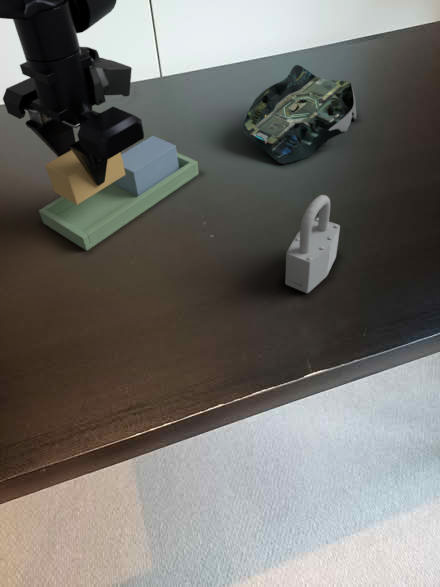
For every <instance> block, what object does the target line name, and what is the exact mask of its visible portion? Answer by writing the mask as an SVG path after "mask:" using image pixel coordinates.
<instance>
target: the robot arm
mask: <svg viewBox="0 0 440 587" xmlns="http://www.w3.org/2000/svg"><path fill="white" fill-rule="evenodd" d="M116 4H117V0H0V19H4V20H13V24H14V27H15V30H16V33H17V37H18V39H19V43H20V45H21V46H20V47H21V48H22V52H23V54H24V58H25V62H23V63H21V64H19V67H20V70H21V71H20V72H21V73H22V75H24V76H26V77H28V78H27V79H24V80H22V81H19V82H18V83H15V84H13V85H10V86H9V87H7V88H5V91H4V93H3V96H2V101H3V103H4V104H3V105H4V106H5V109H6V111H7V114H8V115H11V116H13V117H15V118H17V119H19V120H21V119H24V118H25V116H26V111H27V112H28V116H29V119H28V120H26V121H25V126H26V127H27V128H28V129H30V130H31V131H32V132H33V133H34V134H35V135H36V136H37V137H38V138H39V139H40V140H41V141H42V142H43V143H44V144H45V145H46V146H47V147H48V148H49V150H50V151H52V152H53V153H54V154H55V155H56V157H57V158H58V157H60V156H62V155H64V154H65V153H67V152H69V151H71V150H72V151H73V153H74V154H75V156H76V157H77V158H78V160H79V161H80V163H81V164H82V166H83V167H84V169H85V170H86V171H87V173H88V174H89V176H90V177H91V179H92V180H93V181H94V183H95V184H96V185H98V186H99V185H101V184H103V183H104V182H105V176H106V169H107V161H108V159H110V158H111V157H113V156H115V155H117V154H118V153H120V152H121V153H122V152H123V151H125V150H126V149H128V148H130V147H132V146H134V145H135V144H137V143H138V142H141V141H142V140H143V139H145V132H144V127H143V122H142V119H141V118H140V117H138V116H137V115H135V114H132V113H130V112H128V111H125V110H123V109H120V108H118V107H116V106H111V107H110V108H107V109H106V110H104V111H101V112H98V111H96V110H93V106H96V107H97V106H100V105H103V104H104V103H106V101H107V100H106V96H122V97H130V95H131V81H132V71H133V70H132V69H133V68H132V67H131V66H129V65H126V64H123V63H122V62H121V63H120V62H118V61H116V60H112V59H107V58H104V57H100V55H99V51H98V50H97V49H95V48H92V47H89V46H80V42H79V37H78V34H81V33H84V32H86V31H87V30H89V29H90V28H92V26H94V25H95V24H97V23H98V22H99V21H101V19H103V18H105V17H106V16H107V15H109V14H110V13H111V12H112V11H113V10H114V9H115V7H116ZM77 128H79V129H78V132H77V138H78V140H77V141H76V137H75V132H74V129H77Z"/></svg>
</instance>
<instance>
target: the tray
mask: <svg viewBox="0 0 440 587" xmlns="http://www.w3.org/2000/svg"><path fill="white" fill-rule="evenodd" d="M177 158H178V165H179V170H177V171H176V172H174V173H173V174H171V175H170V176H168V177H167V178H165V179H164V180H162V181H161V182H159V183H158V184H156V185H155V186H153V187H152V188H150V189H149V190H147V191H146V192H144V193H143V194H141V195H140V196H138V197H137V196H135V195H134V194H132V193H130V192H128V191H126V190H124V189H122V188H120V187H118V186H117V185H116V181H115V182H113V183H112V184H110V185H108V186H107V187H105V188H104V189H102V190H100V191H99V192H97V193H95V194H94V195H92V196H91V197H89V198H87V199H86V200H84V201H83V202H81V203H79V204H78V205H76V204H74V203H73V202H71V201H69V200H67V199H66V198H64V197H62V196H60V197H58V198H57V199H55V200H53V201H51V202H50V203H48V204H47V205H45V206H43V207H42V208H41V209H38V212H39V215H40V217H41V220H42V223H43V224H44V225H45V226H48V227H49V228H50V229H52V230H53V231H55V232H56V233H58V234H60V235H61V236H63V237H64V238H66V239H68V240H69V241H70V242H72V243H73V244H75V245H77V246H78V247H80V248H81V249H83V250H85V251H89V250H91V249H92V248H93V247H95V246H96V245H98V244H99V243H101V242H102V241H103V240H106V238H108V237H109V236H111V235H112V234H114V233H115V232H116V231H118V230H120V229H121V228H122V227H124V226H125V225H127V224H128V223H130V222H131V221H133V220H134V219H136V218H137V217H138V216H140V215H141V214H143V213H144V212H146V211H147V210H149V209H150V208H152V207H153V206H155V205H156V204H158V203H159V202H160V201H162V200H164V199H165V198H166V197H168V196H169V195H170V194H172V193H173V192H175V191H176V190H178V189H179V188H181V187H183V185H185V184H187V183H188V182H189V181H191V180H193V179H194V178H195V177H197V176H198V175H199V164H198V163H199V162H198V161H197V160H195V159H193V158H190V157H188V156H186V155H184V154H181V153H180V152H177Z"/></svg>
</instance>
